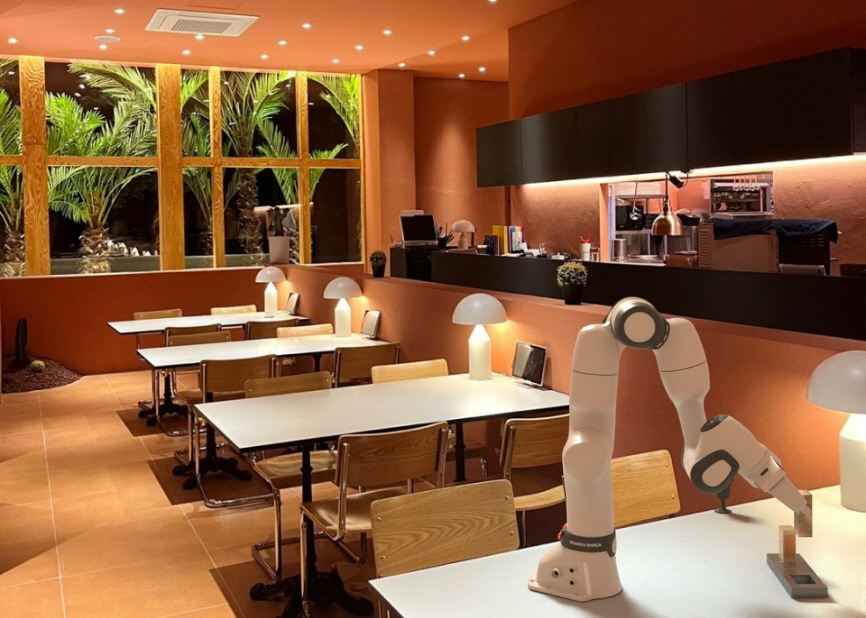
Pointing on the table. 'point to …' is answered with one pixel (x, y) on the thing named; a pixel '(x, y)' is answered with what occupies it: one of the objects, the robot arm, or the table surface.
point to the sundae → (723, 496)
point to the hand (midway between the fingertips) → (805, 509)
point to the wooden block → (804, 518)
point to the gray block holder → (794, 568)
